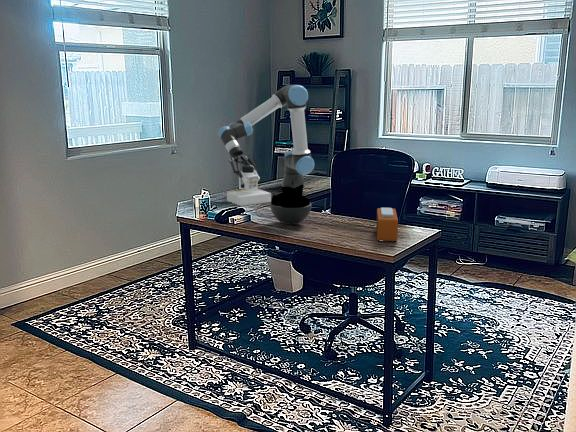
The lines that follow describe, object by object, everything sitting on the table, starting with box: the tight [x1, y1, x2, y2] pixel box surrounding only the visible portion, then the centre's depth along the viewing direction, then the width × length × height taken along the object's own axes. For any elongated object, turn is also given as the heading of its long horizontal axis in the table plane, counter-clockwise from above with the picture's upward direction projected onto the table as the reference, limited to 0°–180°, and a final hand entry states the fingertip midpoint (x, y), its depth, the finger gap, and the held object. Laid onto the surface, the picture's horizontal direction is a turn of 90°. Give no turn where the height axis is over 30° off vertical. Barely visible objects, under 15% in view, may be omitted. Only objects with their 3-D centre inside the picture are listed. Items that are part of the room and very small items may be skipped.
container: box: [238, 165, 259, 190], centre depth 319 cm, size 8×8×13 cm
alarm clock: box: [375, 207, 399, 242], centre depth 254 cm, size 24×8×11 cm, turn 173°
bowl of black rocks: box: [269, 184, 313, 225], centre depth 272 cm, size 20×20×19 cm
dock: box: [226, 188, 272, 207], centre depth 322 cm, size 20×16×5 cm
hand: (252, 180), depth 317 cm, fingers closed on container, 9 cm apart
